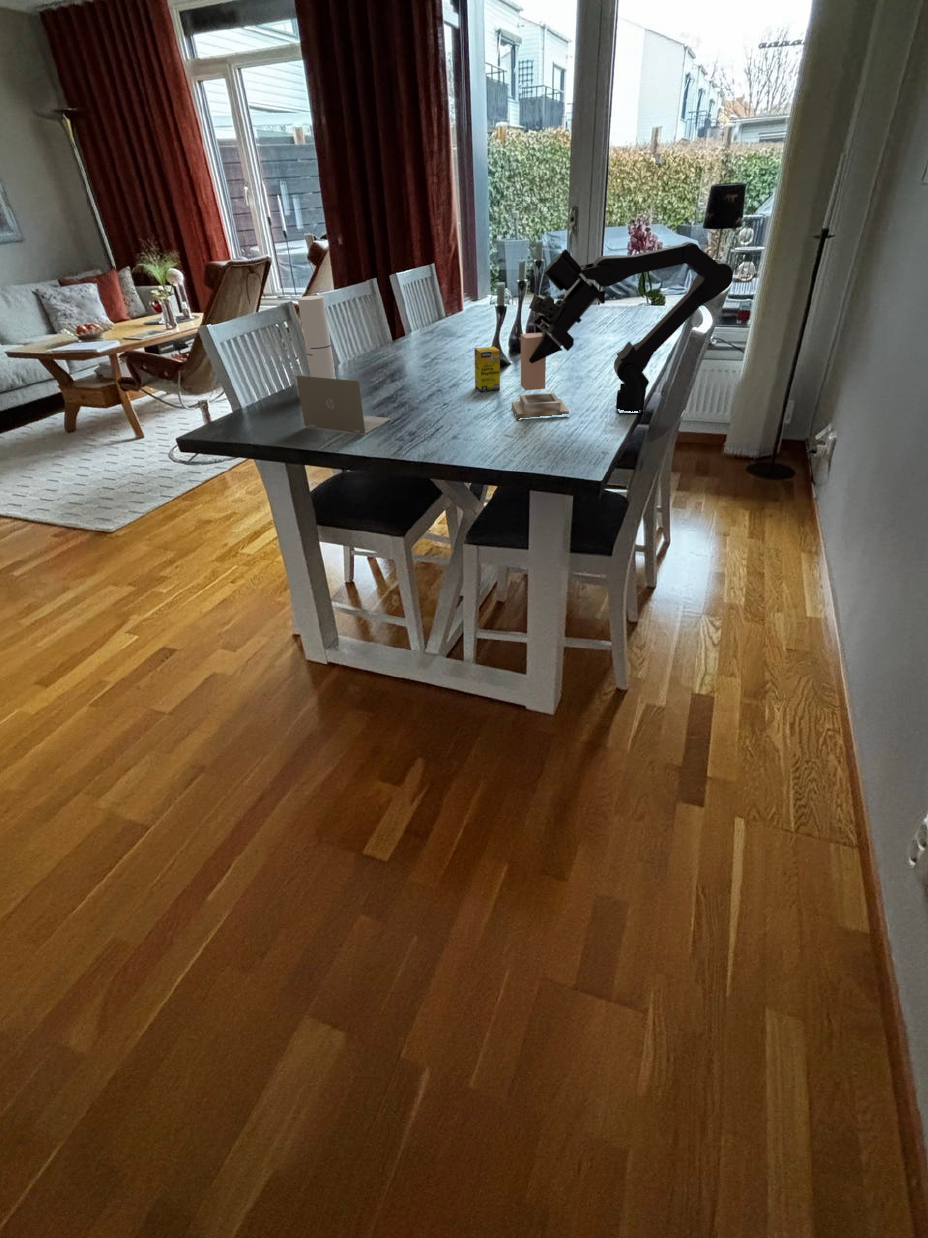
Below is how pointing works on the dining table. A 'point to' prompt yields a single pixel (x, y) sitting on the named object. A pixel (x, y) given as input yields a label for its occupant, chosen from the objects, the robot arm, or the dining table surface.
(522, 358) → the terracotta peg
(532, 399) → the plate
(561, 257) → the robot arm
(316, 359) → the cylindrical container
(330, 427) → the laptop
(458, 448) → the dining table surface
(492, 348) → the supplement box
